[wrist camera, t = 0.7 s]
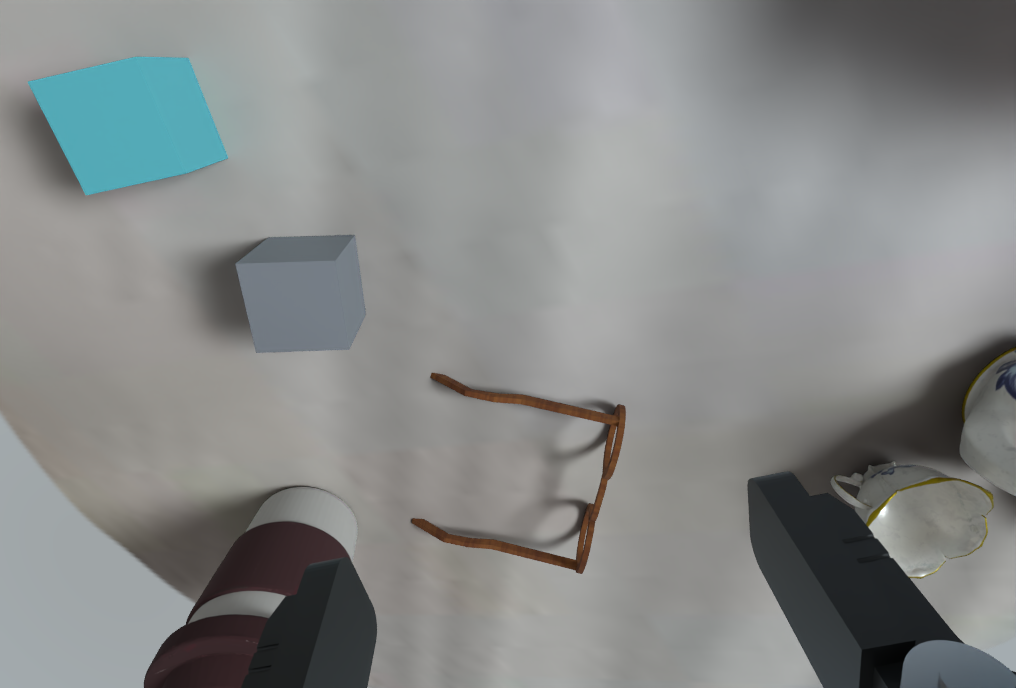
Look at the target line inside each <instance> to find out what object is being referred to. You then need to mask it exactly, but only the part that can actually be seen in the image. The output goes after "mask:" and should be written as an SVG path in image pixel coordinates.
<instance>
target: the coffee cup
mask: <svg viewBox="0 0 1016 688" xmlns="http://www.w3.org/2000/svg"><path fill="white" fill-rule="evenodd" d="M357 535H358V527H357V521H356V519H355V516H354V514H353V512H352V511H351V509H350V508H349V506H348V505H347V504H345V503H344V502H343V501H342V500H341V499H340V498H338V497H337V496H335V495H333V494H331V493H329V492H327V491H324V490H321V489H318V488H311V487H295V488H289V489H285V490H282V491H280V492H278V493H276V494H274V495H272V496H271V497H270V498H268V499H267V500H266V501H265V502H264V503H263V504H262V506H261V507H260V509H259V510H258V512H257V514H256V515H255V517H254V518H253V520H252V522H251V523H250V525H249V526H248V528H247V530H246V531H245V533H244V534H243V535H241V536H240V537H239V538H238V539H237V541H236V542H235V543H234V544H233V546H232V547H231V549H230V550H229V552H228V554H227V555H226V557H225V558H224V560H223V562H222V563H221V565H220V566H219V568H218V569H217V571H216V573H215V574H214V576H213V577H212V579H211V580H210V582H209V584H208V585H207V587H206V588H205V590H204V591H203V593H202V595H201V596H200V598H199V599H198V601H197V603H196V604H195V606H194V607H193V609H192V611H191V613H190V614H189V616H188V619H187V622H186V625H184V626H183V627H181V628H180V629H178V630H177V631H175V632H174V633H172V634H171V635H170V636H169V637H168V638H167V639H166V641H165V642H164V643H163V644H162V646H161V647H160V649H159V651H158V652H157V654H156V656H155V658H154V659H153V661H152V663H151V665H150V667H149V669H148V671H147V673H146V676H145V680H144V688H241V686H242V683H243V681H244V678H245V676H246V675H248V668H249V665H250V663H251V660H252V658H253V655H254V653H256V652H257V648H256V647H257V645H258V642H259V640H260V637H261V634H262V632H263V629H264V627H265V624H266V622H267V620H268V619H269V617H270V616H271V615H272V613H273V612H274V611H275V610H276V608H277V607H278V606H279V604H280V603H281V602H282V600H283V599H284V598H285V596H290V595H295V594H297V591H298V588H299V585H300V582H301V579H302V577H303V574H304V571H305V569H306V568H307V566H308V565H310V564H313V563H318V562H323V561H328V560H333V559H338V558H343V557H347V558H349V559H350V560H351V562H352V563H353V557H354V552H355V546H356V541H357Z"/></svg>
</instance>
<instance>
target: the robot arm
mask: <svg viewBox="0 0 1016 688" xmlns="http://www.w3.org/2000/svg"><path fill="white" fill-rule="evenodd" d="M748 503H749V522H750V538H751V543H752V547H753V551H754V554H755V557H756V560H757V563H758V565H759V567H760V569H761V571H762V573H763V575H764V577H765V579H766V581H767V582H768V584H769V586H770V588H771V590H772V592H773V594H774V596H775V597H776V599H777V601H778V603H779V605H780V607H781V609H782V611H783V612H784V614H785V616H786V618H787V620H788V622H789V624H790V626H791V627H792V629H793V631H794V633H795V635H796V637H797V639H798V641H799V642H800V644H801V646H802V648H803V650H804V652H805V654H806V656H807V657H808V659H809V661H810V663H811V665H812V667H813V669H814V671H815V672H816V674H817V676H818V678H819V680H820V682H821V684H822V686H823V687H824V688H1016V672H1013V671H1011V670H1010V669H1009V668H1007V667H1006V666H1005V665H1004V664H1002V663H1001V662H1000V661H998V660H997V659H995V658H994V657H992V656H991V655H989V654H987V653H985V652H983V651H981V650H979V649H977V648H974V647H972V646H969V645H967V644H964V643H963V642H962V641H961V640H960V639H959V638H958V637H957V636H956V635H955V634H954V632H953V631H952V630H951V629H950V628H949V626H948V625H947V624H946V623H945V621H944V620H943V619H942V618H941V617H940V615H939V614H938V613H937V612H936V610H935V609H934V608H933V607H932V605H931V604H930V603H929V602H928V600H927V599H926V598H925V597H924V596H923V594H922V593H921V592H920V591H919V589H918V588H917V587H916V586H915V584H914V583H913V582H912V581H911V579H910V578H909V577H908V576H907V575H906V573H905V572H904V571H903V570H902V568H901V567H900V566H899V565H898V563H897V562H896V561H895V560H894V558H891V557H890V556H889V552H888V551H887V550H886V549H885V547H884V546H883V545H882V544H881V542H880V541H879V540H878V539H877V538H875V537H874V535H873V533H872V531H871V530H870V529H869V528H868V526H867V525H866V524H865V523H864V521H863V520H862V519H861V518H860V516H859V515H858V514H857V513H856V512H855V510H853V509H851V508H850V507H848V506H847V505H845V504H844V503H842V502H841V501H839V500H837V499H836V498H834V497H833V496H831V495H830V494H828V493H825V494H820V495H815V496H809V494H808V493H807V492H806V490H805V489H804V487H803V486H802V485H801V483H800V482H799V481H798V479H797V478H796V477H795V475H794V474H793V473H791V472H789V471H787V472H782V473H776V474H771V475H766V476H761V477H756V478H751V479H749V480H748ZM376 637H377V622H376V615H375V611H374V607H373V605H372V603H371V601H370V599H369V597H368V595H367V593H366V590H365V588H364V586H363V584H362V582H361V580H360V578H359V576H358V574H357V572H356V570H355V568H354V566H353V564H352V562H351V560H350V559H349V558H347V557H343V558H338V559H333V560H328V561H323V562H318V563H313V564H310V565H308V566H307V568H306V569H305V571H304V574H303V577H302V579H301V582H300V585H299V588H298V591H297V594H295V595H290V596H285V598H284V599H283V600H282V602H281V603H280V604H279V606H278V607H277V608H276V610H275V611H274V612H273V613H272V615H271V616H270V617H269V619H268V620H267V622H266V624H265V627H264V629H263V632H262V634H261V637H260V640H259V642H258V645H257V647H256V648H257V652H256V653H254V655H253V658H252V660H251V663H250V665H249V668H248V675H246V676H245V678H244V681H243V683H242V686H241V688H367V686H368V681H369V675H370V670H371V665H372V659H373V654H374V649H375V643H376Z"/></svg>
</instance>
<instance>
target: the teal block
mask: <svg viewBox="0 0 1016 688" xmlns="http://www.w3.org/2000/svg"><path fill="white" fill-rule="evenodd" d="M28 84H29V86H30V88H31V89H32V91H33V93H34V95H35V97H36V99H37V101H38V103H39V105H40V107H41V109H42V111H43V113H44V115H45V117H46V119H47V121H48V123H49V124H50V126H51V128H52V130H53V132H54V134H55V136H56V138H57V140H58V142H59V144H60V146H61V148H62V150H63V152H64V154H65V156H66V158H67V160H68V161H69V163H70V165H71V167H72V169H73V171H74V173H75V175H76V177H77V179H78V181H79V183H80V185H81V187H82V189H83V191H84V193H85V195H90V194H95V193H99V192H104V191H108V190H113V189H117V188H122V187H127V186H131V185H136V184H140V183H145V182H149V181H154V180H158V179H163V178H168V177H172V176H177V175H181V174H186V173H189V172H192V171H194V170H197V169H200V168H203V167H205V166H208V165H211V164H214V163H216V162H219V161H222V160H225V159H227V158H228V156H227V154H226V151H225V149H224V146H223V144H222V141H221V139H220V136H219V134H218V131H217V129H216V126H215V124H214V121H213V119H212V116H211V114H210V111H209V109H208V106H207V104H206V101H205V99H204V96H203V93H202V91H201V88H200V86H199V83H198V81H197V78H196V76H195V73H194V71H193V68H192V66H191V63H190V61H189V58H170V57H132V58H128V59H124V60H120V61H115V62H111V63H107V64H102V65H98V66H94V67H89V68H85V69H81V70H76V71H72V72H68V73H63V74H59V75H55V76H51V77H46V78H42V79H38V80H33V81H29V82H28Z"/></svg>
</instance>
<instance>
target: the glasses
mask: <svg viewBox="0 0 1016 688" xmlns="http://www.w3.org/2000/svg"><path fill="white" fill-rule="evenodd" d="M431 378H432V379H434V380H436V381H438V382H440V383H442V384H444V385H445V386H447V387H449V388H451V389H453V390H455V391H457V392H458V393H460V394H462V395H464V396H468V397H473V398H477V399H482V400H486V401H491V402H500V403H514V404H523V405H527V406H532V407H536V408H540V409H545V410H549V411H553V412H558V413H562V414H567V415H571V416H575V417H580V418H584V419H588V420H593V421H597V422H601V423H606V424H610V428H609V432H608V436H607V440H606V445H605V451H604V460H603V474H602V478H601V482H600V486H599V489H598V493H597V496H596V500H595V503H594V504H591V503H589V504H588V506H587V508H586V512H585V515H584V519H583V522H582V526H581V531H580V535H579V541H578V547H577V555H576V560H573V559H569V558H565V557H561V556H557V555H553V554H549V553H545V552H541V551H537V550H533V549H529V548H525V547H521V546H517V545H513V544H509V543H505V542H501V541H497V540H493V539H476V538H467V537H462V536H456V535H451V534H448V533H446V532H445V531H443V530H441V529H440V528H438V527H436V526H434V525H433V524H431V523H429V522H428V521H426V520H424V519H415V518H413V519H412V523H413V524H414V525H416V526H418V527H419V528H421V529H423V530H424V531H426V532H428V533H429V534H431V535H433V536H434V537H436V538H438V539H439V540H441V541H443V542H446V543H451V544H455V545H460V546H465V547H472V548H485V549H493V550H497V551H501V552H505V553H509V554H513V555H517V556H521V557H525V558H529V559H533V560H537V561H541V562H545V563H549V564H553V565H557V566H561V567H565V568H569V569H573V570H576V573H580V574H582V573H583V571H584V569H585V566H586V563H587V559H588V556H589V552H590V547H591V543H592V538H593V532H594V526H595V521H596V519H597V517H598V514H599V510H600V507H601V504H602V500H603V497H604V493H605V490H606V485H607V481H608V480H609V479H610V478H611V477H612V475H613V472H614V470H615V467H616V464H617V460H618V457H619V453H620V449H621V444H622V440H623V434H624V428H625V416H626V411H625V406H624V405H619V404H618V405H617V407H616V409H615V411H614V414H613V415H610V414H605V413H601V412H597V411H592V410H588V409H583V408H579V407H575V406H570V405H566V404H562V403H557V402H553V401H548V400H544V399H540V398H535V397H531V396H527V395H519V394H499V393H492V392H486V391H480V390H474V389H470V388H469V387H467V386H465V385H463V384H461V383H459V382H457V381H455V380H453V379H451V378H450V377H448V376H446V375H442V374H437V373H432V374H431ZM616 426H617V432H616V438H615V443H614V447H613V451H612V455H611V448H612V442H613V438H614V434H615V430H616ZM610 455H611V458H610ZM587 526H588V529H587ZM586 530H587V535H586V540H585V545H584V539H585V534H586ZM583 546H584V549H583Z"/></svg>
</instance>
